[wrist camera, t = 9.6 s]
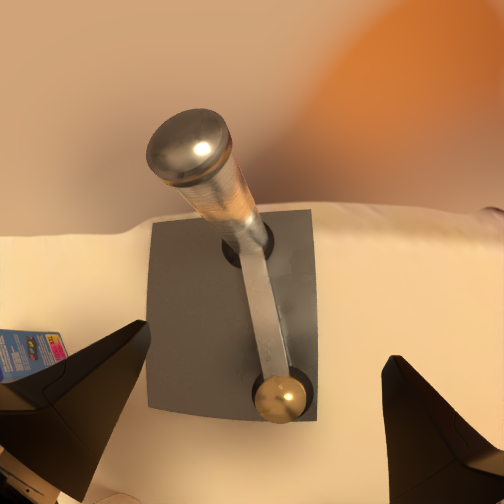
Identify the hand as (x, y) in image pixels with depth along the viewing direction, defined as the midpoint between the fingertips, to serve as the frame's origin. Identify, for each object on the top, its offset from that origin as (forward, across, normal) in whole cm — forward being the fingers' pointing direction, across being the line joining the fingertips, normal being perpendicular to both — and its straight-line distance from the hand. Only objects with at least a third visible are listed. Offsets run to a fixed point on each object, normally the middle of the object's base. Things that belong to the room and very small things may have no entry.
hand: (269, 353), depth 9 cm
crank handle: (+10, 0, +6) cm, 12 cm away
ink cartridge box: (+6, +25, +19) cm, 32 cm away
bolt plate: (+11, +3, +8) cm, 14 cm away
